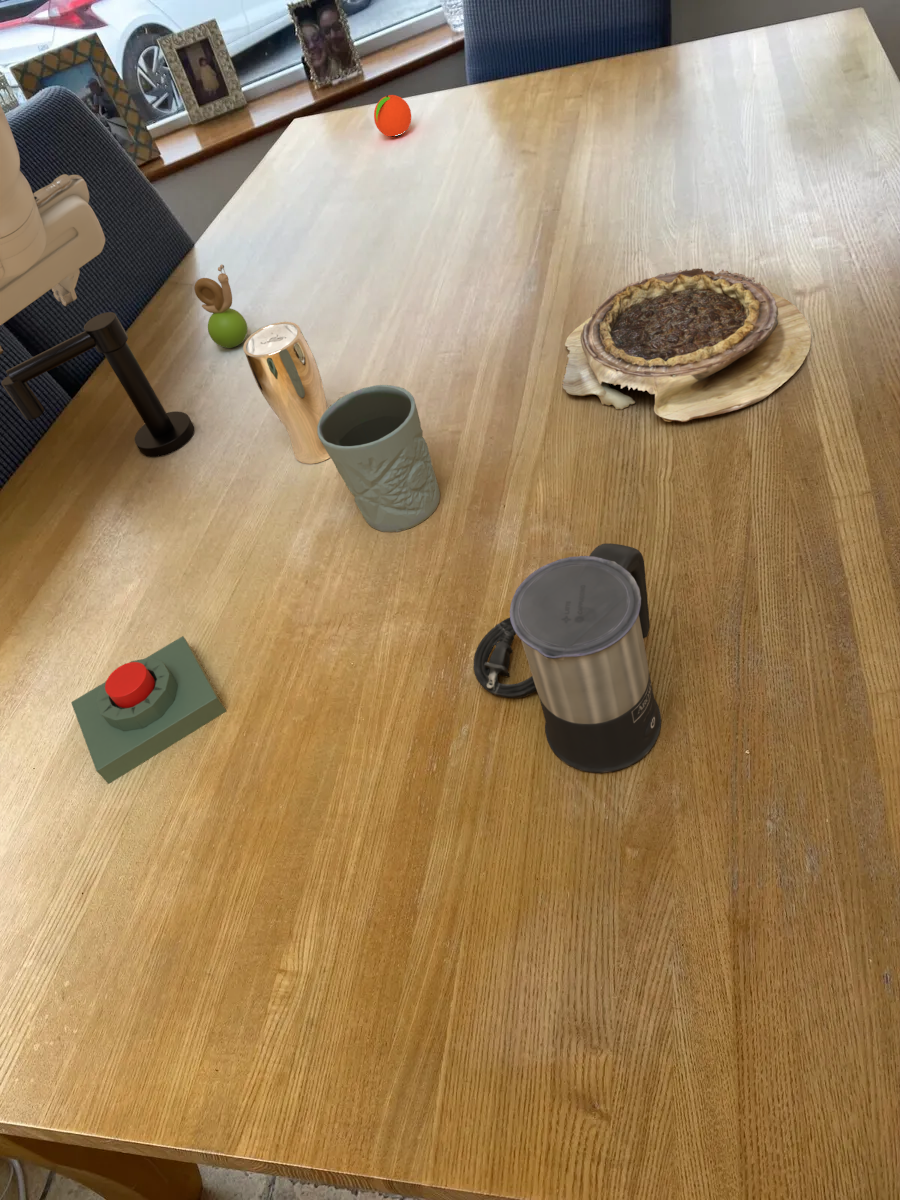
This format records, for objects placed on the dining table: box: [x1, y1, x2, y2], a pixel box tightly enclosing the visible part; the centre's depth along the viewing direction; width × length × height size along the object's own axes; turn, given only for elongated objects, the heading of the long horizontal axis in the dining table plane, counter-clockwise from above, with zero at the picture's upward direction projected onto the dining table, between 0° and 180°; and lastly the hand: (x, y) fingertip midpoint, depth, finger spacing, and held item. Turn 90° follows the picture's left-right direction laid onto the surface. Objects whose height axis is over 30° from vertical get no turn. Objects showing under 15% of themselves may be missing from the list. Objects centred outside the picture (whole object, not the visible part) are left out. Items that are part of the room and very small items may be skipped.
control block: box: [70, 635, 227, 785], centre depth 87 cm, size 12×10×4 cm
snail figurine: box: [193, 264, 248, 349], centre depth 131 cm, size 5×6×12 cm
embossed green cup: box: [317, 384, 441, 533], centre depth 96 cm, size 10×10×12 cm
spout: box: [1, 311, 129, 421], centre depth 111 cm, size 15×4×6 cm, turn 121°
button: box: [105, 661, 155, 708], centre depth 85 cm, size 4×4×2 cm
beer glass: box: [242, 321, 331, 465], centre depth 107 cm, size 7×7×15 cm
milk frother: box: [473, 542, 662, 774], centre depth 72 cm, size 14×16×15 cm
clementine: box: [373, 94, 412, 137], centre depth 173 cm, size 8×7×7 cm
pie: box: [561, 267, 812, 423], centre depth 105 cm, size 28×27×5 cm
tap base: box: [103, 341, 196, 458], centre depth 117 cm, size 8×8×14 cm
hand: (30, 325), depth 95 cm, fingers open, 8 cm apart
